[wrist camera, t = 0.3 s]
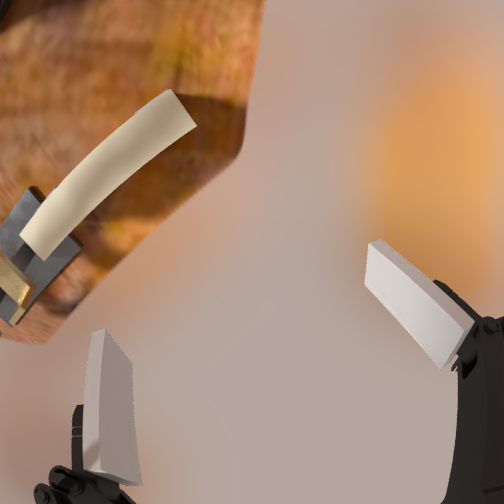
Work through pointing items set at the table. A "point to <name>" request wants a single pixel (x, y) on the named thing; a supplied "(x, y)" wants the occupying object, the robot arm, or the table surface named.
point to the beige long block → (106, 171)
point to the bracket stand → (26, 261)
